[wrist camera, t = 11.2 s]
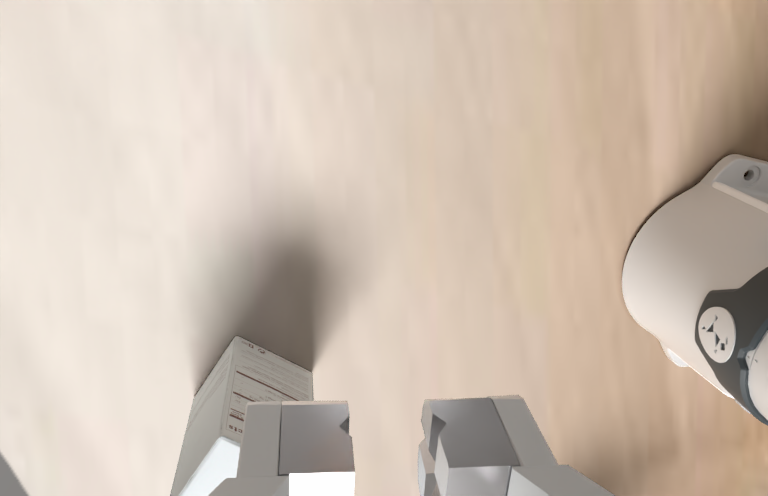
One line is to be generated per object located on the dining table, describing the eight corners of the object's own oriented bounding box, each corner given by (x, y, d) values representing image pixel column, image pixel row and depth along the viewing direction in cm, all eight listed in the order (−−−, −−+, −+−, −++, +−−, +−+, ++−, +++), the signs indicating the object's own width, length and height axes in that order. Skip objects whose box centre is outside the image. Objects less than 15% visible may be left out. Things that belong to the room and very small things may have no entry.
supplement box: (269, 433, 55) (260, 556, 44) (191, 397, 53) (160, 517, 41) (316, 371, 53) (320, 481, 42) (237, 331, 51) (217, 436, 39)
